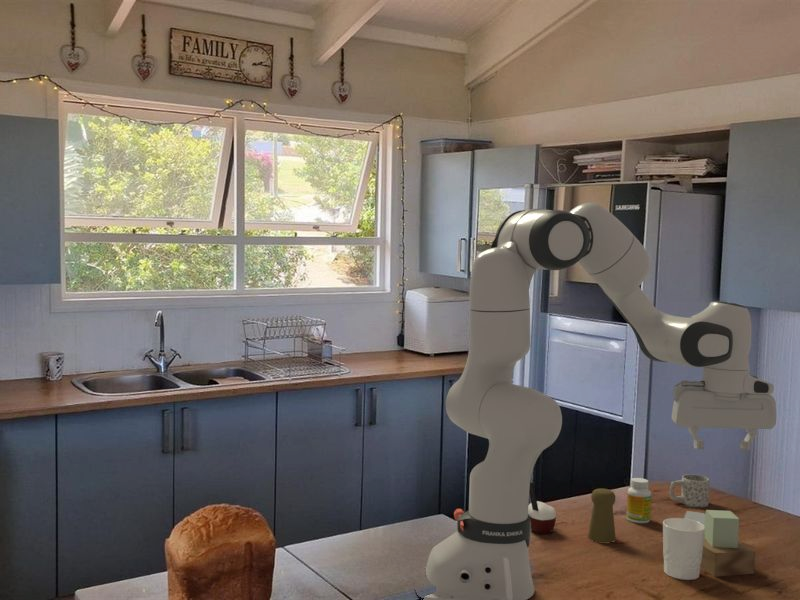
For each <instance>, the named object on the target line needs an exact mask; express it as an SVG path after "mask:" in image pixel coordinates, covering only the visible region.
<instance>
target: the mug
mask: <svg viewBox="0 0 800 600" xmlns="http://www.w3.org/2000/svg"><path fill="white" fill-rule="evenodd" d="M710 482H711V480H710V477H708V476H705V475H703V474H694V473H690V474H689V473H687V474H683V475H682V476H681V479H678V480H674V481H671V482H670V487H669V497H670V499H671V500H672V501H678V502H680V503H681V504H683V505H685V506H687V507H692V508H706V507H708V506H709V501H710V499H709V498H710V486H711V484H710ZM675 486H681V488H680V489H681V490H680V491H681V493H680V495H675V492H674V490H675Z"/></svg>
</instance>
